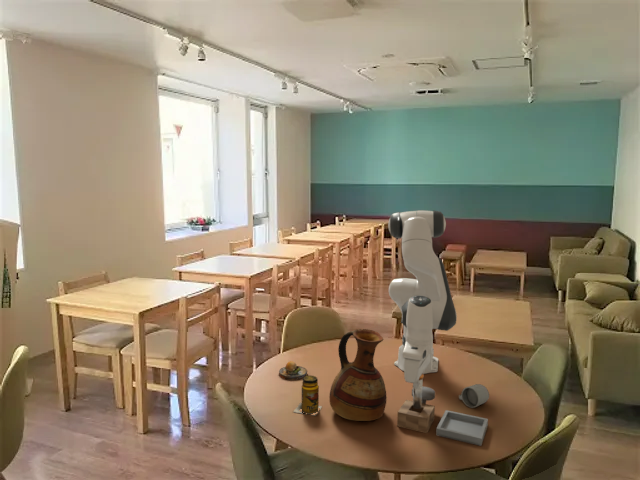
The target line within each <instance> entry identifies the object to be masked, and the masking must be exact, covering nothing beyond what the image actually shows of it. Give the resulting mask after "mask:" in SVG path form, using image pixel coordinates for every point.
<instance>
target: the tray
mask: <svg viewBox="0 0 640 480" xmlns="http://www.w3.org/2000/svg"><path fill="white" fill-rule="evenodd" d="M488 423H489V419H488V418H485V417H481V416H477V415H476V416H475V415H471V414H465V413H462V412H456V411H452V410H447V409H446V410H444V413H443V414H442V416H441V419H440V421H439V423H438V424H437V427H436V431H435V434H436V437H437V436H438V437H443V438H446V439H451V440H456V441H458V442H461V443H462V442H463V443H467V444H471V445H476V446H480V447H482V444H483V443H484V442H483V441H484V439H485V435H486V433H487V430H488V426H489V424H488Z"/></svg>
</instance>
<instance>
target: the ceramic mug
mask: <svg viewBox="0 0 640 480" xmlns="http://www.w3.org/2000/svg"><path fill="white" fill-rule="evenodd" d="M458 399H459V400H460V401H462V402H463V403H464V405H465V406H467V407H468V408H471V409H474V408H477V407H479V406H480V405H483V404H485V403H487V401H488V400H490V392H489V390H488V388H487V387H486V386H485V385H484V384H480V383H475V384H472V385H470V386H466V387H464V388H463V389H462V390H461V393H460V394H459V395H458Z"/></svg>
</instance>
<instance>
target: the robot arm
mask: <svg viewBox="0 0 640 480" xmlns="http://www.w3.org/2000/svg"><path fill="white" fill-rule="evenodd" d="M387 222H388V223H387V227H388V231H389V234H390V236H392V237H393V238H394V239H398V240H399V239H400V240H401V255H402V259H403V266H404V267H405V269H406V270H407V272H409V273H411V274H412V275H413V276H414V277H415V278H407V277H400V278H399V277H398V278H394V279H393V280H391V282H390V283H389V285H388V295H389V297H390V299H391V300H392V301H393V302H394V303H395V304H396V306H397V307H398V309H399V310H400V312H401V324H402V325H403V335H402V338H401V339H402V340H401V341H402V342H401V343H402V344H401V345H400V346H399V347H398V354H397V357H398V358H397V360H396V361H394V366H397V368H398V369H400V370H401V371H403V372H404V373H403V375H404V380H405V382H406V383H411V384H412V389H413V388H415V389H418V388H419V378H420V376H421V375H422V373H423V374H424V375H425V374H431V373H437V372H438V369H439V357H436V356H434V354H435V353H434V352H435V351H434V343H433V342H434V341H433V340H434V334H433V330H438V331H447V332H448V331H450V330H451V329H452V328H453V327H455V326H456V324H457V317H458V316H457V314H458V313H457V310H456V307H455V304H454V301H453V296H452V293H451V289H450V284H449V279H448V277H447V273H446V269H445V265H444V263H443V260H442V259H441V258H440V257H438V256H437V255H436V253H435V251H434V248H433V239H435V238H439V237H441V236H443V235H444V233H445V230H446V226H447V222H446V218H445V215H444V214H443V213H442V212H441V211H438V210H433V211H432V210H421V209H420V210H410V211H409V210H408V211H403V212H401V211H397V212H394V213H391V215H390V216H389V220H388V221H387Z"/></svg>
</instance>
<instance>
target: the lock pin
mask: <svg viewBox="0 0 640 480" xmlns="http://www.w3.org/2000/svg"><path fill="white" fill-rule="evenodd" d="M424 377H425V374H423V373H422V375H421V376H420V378H419V388H418V389H415V388H413V387H412V389H413V396H412V401H413V408H416V409H420V408H422V386H423V382H424V381H423V379H424Z"/></svg>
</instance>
